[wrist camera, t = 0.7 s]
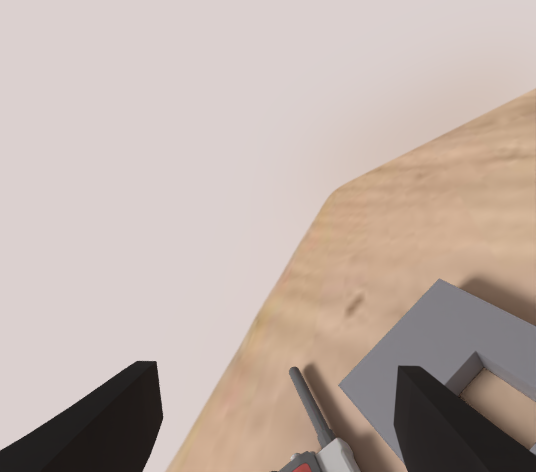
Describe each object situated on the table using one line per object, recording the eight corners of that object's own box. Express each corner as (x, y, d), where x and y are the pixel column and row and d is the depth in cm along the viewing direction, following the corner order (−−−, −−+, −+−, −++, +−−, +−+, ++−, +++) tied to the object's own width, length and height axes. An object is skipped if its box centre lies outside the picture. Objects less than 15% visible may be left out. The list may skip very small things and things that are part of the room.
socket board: (770, 467, 14) (785, 450, 13) (600, 689, 13) (598, 694, 12) (447, 295, 28) (439, 278, 27) (351, 397, 27) (337, 385, 25)
